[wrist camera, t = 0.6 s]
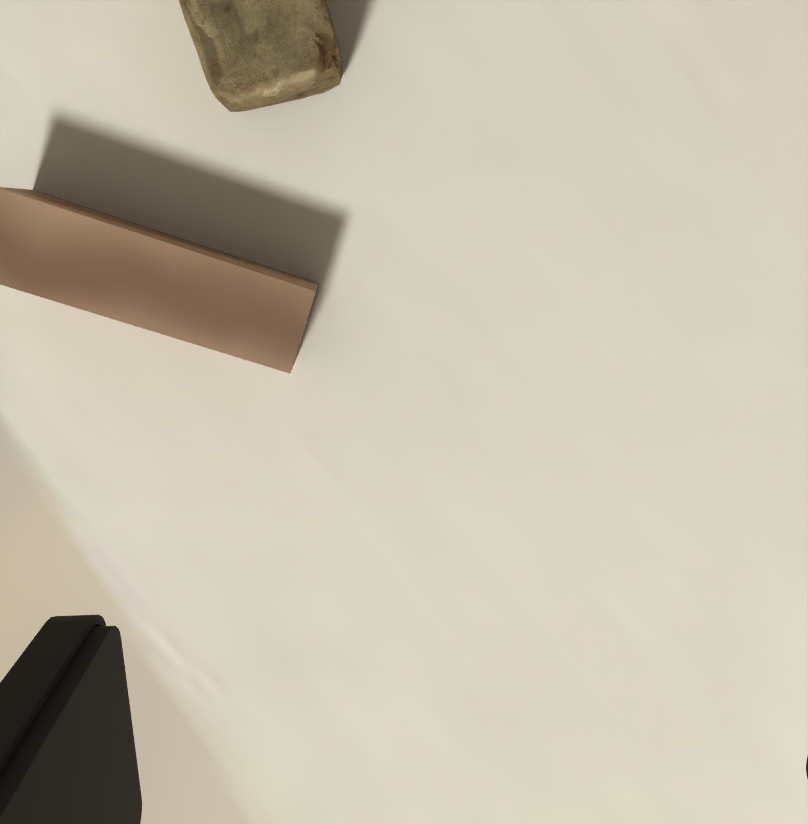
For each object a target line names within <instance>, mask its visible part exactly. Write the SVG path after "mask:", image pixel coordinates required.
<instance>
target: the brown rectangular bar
mask: <svg viewBox="0 0 808 824" xmlns="http://www.w3.org/2000/svg"><path fill="white" fill-rule="evenodd" d="M0 284H1V285H4V286H7V287H10V288H14V289H17V290H20V291H23V292H27V293H30V294H33V295H36V296H40V297H43V298H46V299H49V300H53V301H56V302H59V303H62V304H66V305H69V306H72V307H75V308H79V309H82V310H85V311H89V312H92V313H95V314H98V315H102V316H105V317H108V318H111V319H115V320H118V321H121V322H124V323H128V324H131V325H134V326H137V327H141V328H144V329H147V330H150V331H154V332H157V333H160V334H163V335H167V336H170V337H173V338H176V339H180V340H183V341H186V342H189V343H193V344H196V345H199V346H203V347H206V348H209V349H212V350H216V351H219V352H222V353H225V354H229V355H232V356H235V357H238V358H242V359H245V360H248V361H251V362H255V363H258V364H261V365H264V366H268V367H271V368H274V369H277V370H281V371H284V372H287V373H291V370H292V368H293V365H294V363H295V360H296V357H297V354H298V351H299V347H300V344H301V341H302V337H303V334H304V331H305V327H306V324H307V321H308V318H309V314H310V311H311V308H312V304H313V301H314V298H315V294H316V291H317V288H318V284H317V283H314V282H311V281H308V280H305V279H302V278H299V277H296V276H293V275H290V274H287V273H284V272H281V271H278V270H274V269H271V268H268V267H265V266H262V265H259V264H256V263H253V262H250V261H247V260H244V259H241V258H238V257H235V256H232V255H229V254H226V253H223V252H220V251H217V250H214V249H210V248H207V247H204V246H201V245H198V244H195V243H192V242H189V241H186V240H183V239H180V238H177V237H174V236H171V235H168V234H165V233H162V232H159V231H156V230H153V229H149V228H146V227H143V226H140V225H137V224H134V223H131V222H128V221H125V220H122V219H119V218H116V217H113V216H110V215H107V214H104V213H101V212H98V211H95V210H92V209H89V208H85V207H82V206H79V205H76V204H73V203H70V202H67V201H64V200H61V199H58V198H55V197H52V196H49V195H46V194H43V193H40V192H37V191H34V190H26V189H14V188H2V187H0Z"/></svg>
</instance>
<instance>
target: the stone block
mask: <svg viewBox="0 0 808 824" xmlns="http://www.w3.org/2000/svg"><path fill="white" fill-rule="evenodd" d="M179 2H180V5H181V8H182V11H183V14H184V17H185V20H186V23H187V26H188V29H189V32H190V34H191V37H192V39H193V42H194V45H195V47H196V50H197V53H198V56H199V59H200V62H201V65H202V68H203V71H204V74H205V77H206V79H207V82H208V84H209V86H210V88H211V90H212V92H213V94H214V95H215V97H216V98H217V99H218V100H219V101H220V102H221V103H222V104H223V105H224V106H225V107H226V108H227V109H228V110H229V111H230V112H238V111H247V110H251V109H256V108H260V107H265V106H270V105H275V104H279V103H283V102H287V101H292V100H297V99H301V98H305V97H308V96H311V95H315V94H319V93H324V92H326V91H328V90H330V89H332V88H334V87H335V86H337V85H339V84H340V81H341V78H342V70H341V58H340V52H339V46H338V42H337V38H336V34H335V30H334V27H333V23H332V19H331V16H330V12H329V9H328V6H327V2H326V0H179Z"/></svg>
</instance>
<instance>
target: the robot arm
mask: <svg viewBox="0 0 808 824" xmlns="http://www.w3.org/2000/svg"><path fill="white" fill-rule="evenodd" d="M806 772H807V778H808V757H807V763H806ZM141 811H142V799H141V791H140V782H139V774H138V767H137V759H136V751H135V743H134V736H133V728H132V720H131V712H130V704H129V697H128V689H127V681H126V673H125V665H124V658H123V650H122V642H121V636H120V631H119V629H118V628H117V627H116V626H106V623H105V621H104V619H103V617H102V616H100V615H80V616H55V617H51V618H50V619H49V620H48V621H47V622H46V623H45V624H44V625H43V627H42V628H41V630H40V631H39V632H38V633H37V635H36V636H35V637H34V639H33V640H32V641H31V643H30V644H29V645H28V647H27V648H26V649H25V651H24V652H23V653H22V655H21V656H20V657H19V659H18V660H17V662H16V663H15V664H14V666H13V667H12V668H11V669H10V671H9V672H8V673H7V675H6V676H5V677H4V679H3V680H2V681H1V683H0V824H140V821H141V813H142V812H141Z"/></svg>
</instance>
